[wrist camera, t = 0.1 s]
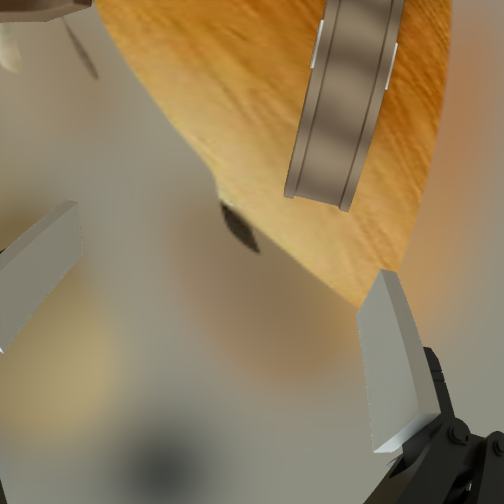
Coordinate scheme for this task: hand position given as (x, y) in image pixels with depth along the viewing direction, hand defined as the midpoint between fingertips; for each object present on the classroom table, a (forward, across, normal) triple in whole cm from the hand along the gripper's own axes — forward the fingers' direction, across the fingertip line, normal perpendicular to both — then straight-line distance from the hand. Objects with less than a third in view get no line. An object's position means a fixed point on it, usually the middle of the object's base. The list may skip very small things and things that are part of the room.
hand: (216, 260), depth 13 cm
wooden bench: (+28, +7, +11) cm, 31 cm away
